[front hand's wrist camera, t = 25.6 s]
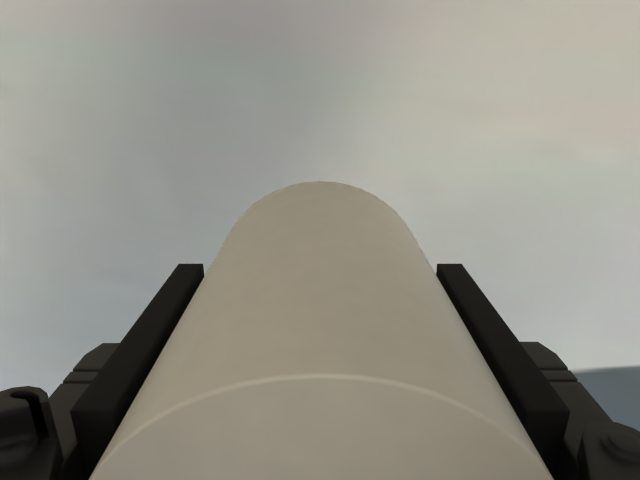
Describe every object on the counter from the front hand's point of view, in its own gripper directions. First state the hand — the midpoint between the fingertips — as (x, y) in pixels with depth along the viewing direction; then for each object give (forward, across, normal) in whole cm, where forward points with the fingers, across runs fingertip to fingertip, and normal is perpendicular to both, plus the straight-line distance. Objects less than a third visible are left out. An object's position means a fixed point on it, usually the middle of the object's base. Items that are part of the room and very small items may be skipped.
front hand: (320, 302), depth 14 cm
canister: (+2, 0, 0) cm, 2 cm away
